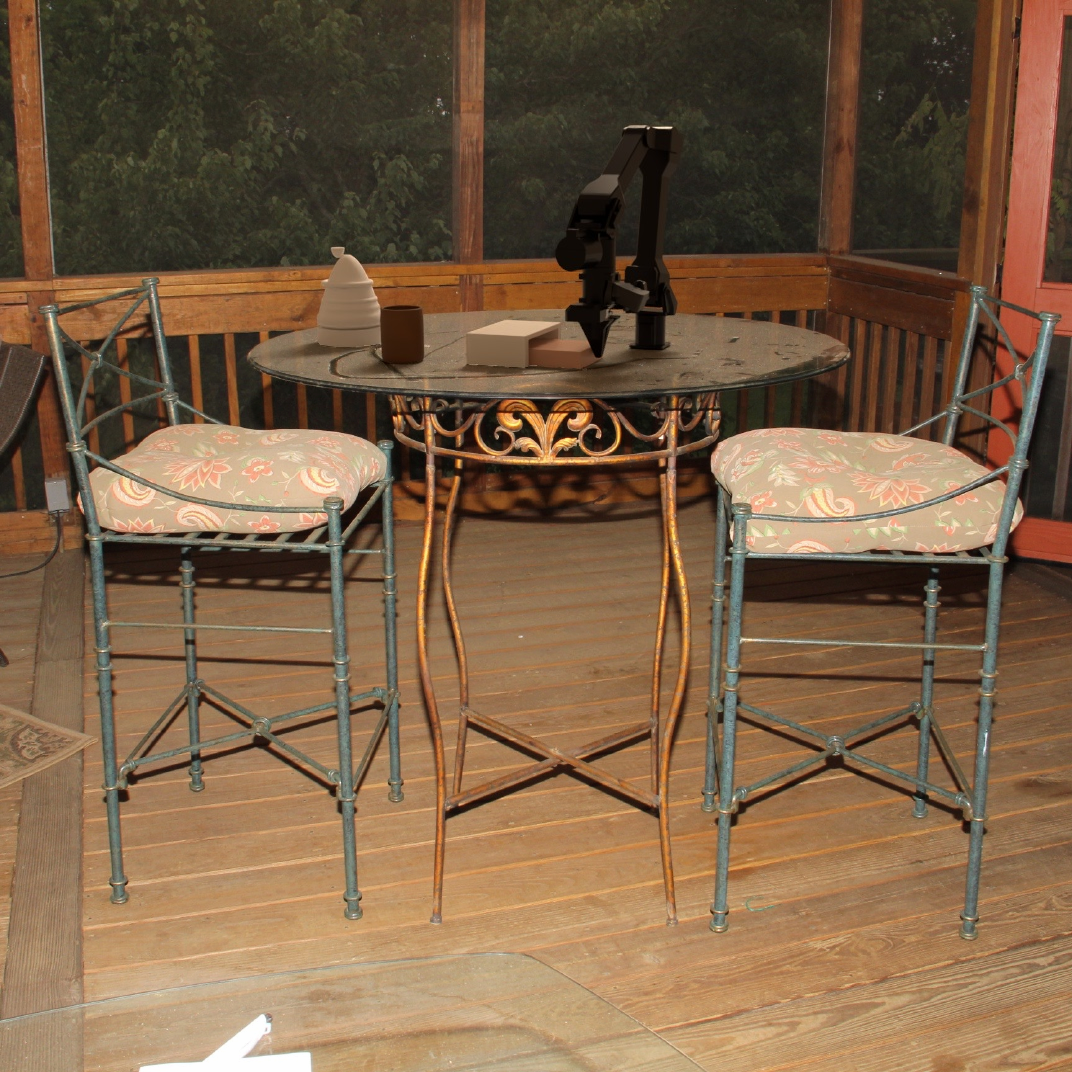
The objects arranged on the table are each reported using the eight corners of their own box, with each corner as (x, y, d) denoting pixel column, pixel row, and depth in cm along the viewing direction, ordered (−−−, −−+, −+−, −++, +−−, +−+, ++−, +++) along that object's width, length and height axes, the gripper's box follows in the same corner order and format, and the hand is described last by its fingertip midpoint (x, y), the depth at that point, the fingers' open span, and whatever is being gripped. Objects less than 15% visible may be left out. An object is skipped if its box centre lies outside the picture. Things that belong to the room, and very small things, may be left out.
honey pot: (306, 346, 242) (300, 249, 237) (336, 336, 254) (331, 244, 248) (368, 349, 238) (363, 251, 233) (395, 339, 250) (391, 245, 245)
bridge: (505, 349, 237) (505, 319, 235) (561, 352, 233) (561, 322, 232) (466, 364, 221) (466, 333, 219) (525, 368, 217) (525, 336, 216)
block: (509, 355, 234) (509, 336, 233) (602, 361, 228) (602, 341, 226) (483, 366, 223) (483, 346, 222) (580, 372, 217) (580, 351, 216)
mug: (379, 354, 232) (377, 302, 230) (420, 352, 234) (418, 301, 231) (383, 365, 221) (380, 310, 218) (426, 363, 222) (424, 309, 220)
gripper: (628, 272, 206) (627, 368, 210) (659, 262, 222) (657, 351, 227) (563, 271, 210) (564, 365, 214) (598, 261, 226) (598, 348, 231)
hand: (598, 357), depth 221 cm, fingers closed
